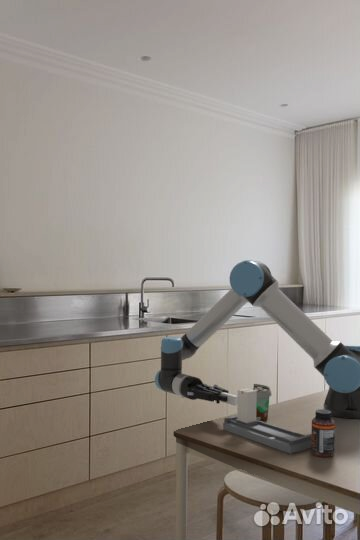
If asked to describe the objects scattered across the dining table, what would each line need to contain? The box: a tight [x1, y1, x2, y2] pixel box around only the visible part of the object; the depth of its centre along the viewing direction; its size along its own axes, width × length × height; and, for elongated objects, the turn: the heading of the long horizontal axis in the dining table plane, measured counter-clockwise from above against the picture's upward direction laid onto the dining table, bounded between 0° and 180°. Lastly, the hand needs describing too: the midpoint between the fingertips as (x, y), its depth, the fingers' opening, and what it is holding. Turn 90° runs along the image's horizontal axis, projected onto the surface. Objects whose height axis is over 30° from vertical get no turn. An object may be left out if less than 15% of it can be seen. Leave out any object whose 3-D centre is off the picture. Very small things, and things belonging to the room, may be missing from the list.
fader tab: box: [235, 387, 259, 426], centre depth 158 cm, size 5×5×10 cm
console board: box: [222, 415, 311, 455], centre depth 152 cm, size 10×26×3 cm, turn 38°
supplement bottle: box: [310, 408, 336, 458], centre depth 139 cm, size 6×6×11 cm
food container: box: [252, 383, 273, 422], centre depth 171 cm, size 12×6×10 cm, turn 168°
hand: (236, 400), depth 161 cm, fingers closed
